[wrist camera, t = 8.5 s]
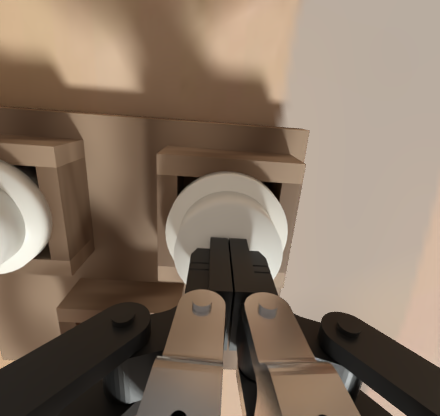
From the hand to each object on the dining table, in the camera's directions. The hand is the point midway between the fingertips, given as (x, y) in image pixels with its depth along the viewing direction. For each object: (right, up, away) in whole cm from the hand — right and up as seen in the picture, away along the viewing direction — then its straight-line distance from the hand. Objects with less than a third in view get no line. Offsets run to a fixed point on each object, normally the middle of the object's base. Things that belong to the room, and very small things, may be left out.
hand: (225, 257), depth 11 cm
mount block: (-6, -1, +8) cm, 11 cm away
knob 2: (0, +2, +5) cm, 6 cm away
